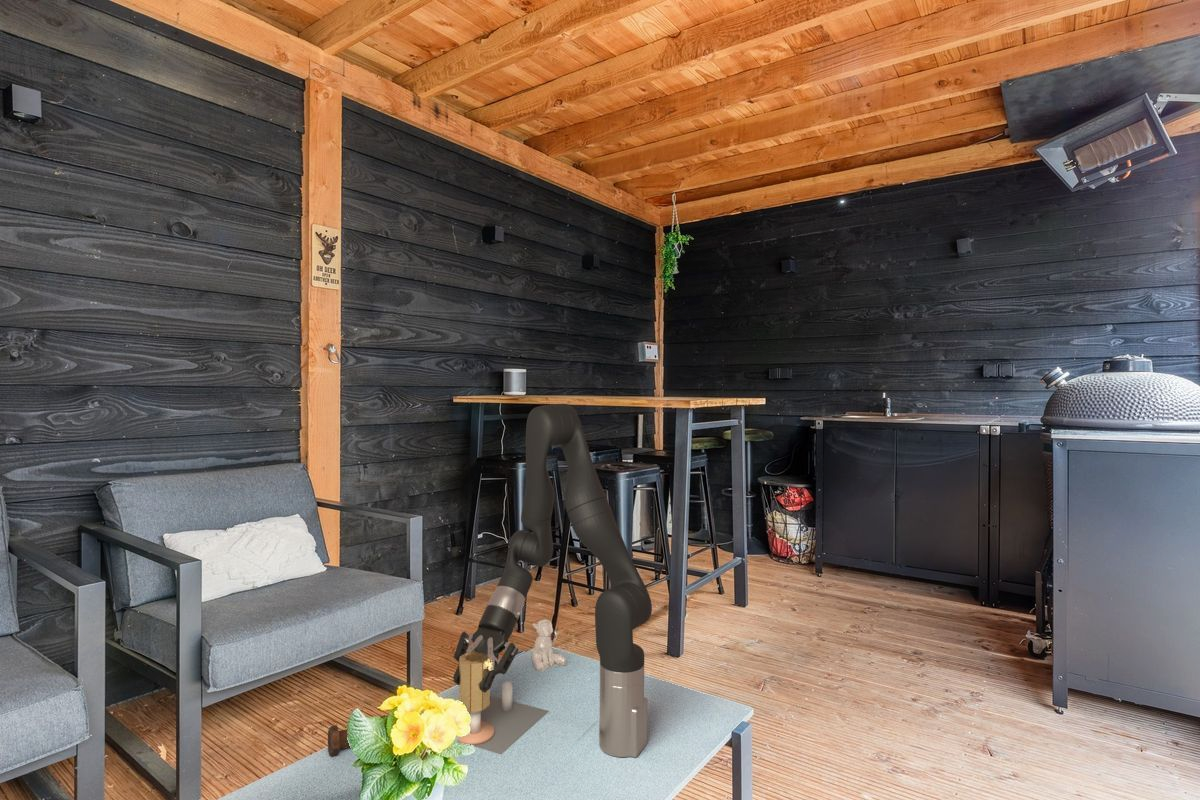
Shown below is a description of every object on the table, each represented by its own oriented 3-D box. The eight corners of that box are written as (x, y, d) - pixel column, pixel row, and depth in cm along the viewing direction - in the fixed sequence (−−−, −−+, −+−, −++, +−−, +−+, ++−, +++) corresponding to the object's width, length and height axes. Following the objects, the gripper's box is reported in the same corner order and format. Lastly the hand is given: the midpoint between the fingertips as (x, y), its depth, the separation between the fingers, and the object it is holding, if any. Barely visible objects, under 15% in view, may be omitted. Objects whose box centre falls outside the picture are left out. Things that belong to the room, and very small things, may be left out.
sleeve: (494, 701, 136) (494, 654, 136) (477, 714, 131) (477, 666, 131) (471, 695, 139) (471, 649, 139) (453, 707, 133) (454, 660, 133)
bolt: (405, 744, 137) (329, 762, 130) (400, 723, 141) (326, 739, 133) (409, 727, 135) (332, 744, 127) (404, 706, 139) (329, 721, 131)
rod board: (549, 717, 145) (549, 682, 145) (499, 763, 127) (499, 723, 127) (483, 699, 153) (483, 666, 153) (428, 740, 135) (428, 703, 135)
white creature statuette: (539, 675, 166) (539, 629, 166) (520, 664, 172) (520, 620, 172) (568, 665, 172) (568, 620, 172) (548, 655, 179) (549, 612, 178)
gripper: (469, 598, 144) (433, 672, 134) (523, 609, 138) (490, 687, 128) (482, 614, 149) (449, 686, 139) (536, 625, 143) (505, 702, 133)
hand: (469, 686), depth 133 cm, fingers closed on sleeve, 6 cm apart
